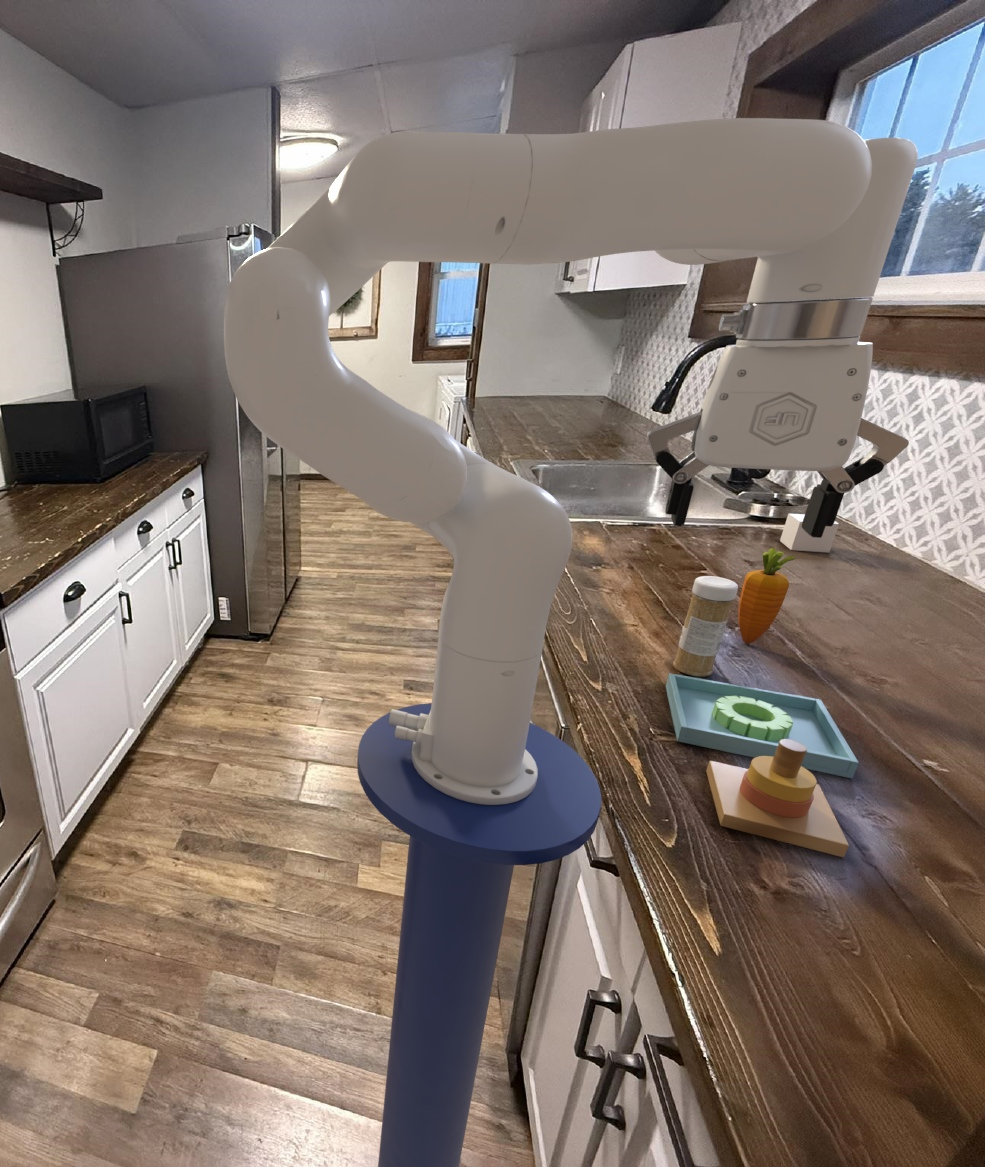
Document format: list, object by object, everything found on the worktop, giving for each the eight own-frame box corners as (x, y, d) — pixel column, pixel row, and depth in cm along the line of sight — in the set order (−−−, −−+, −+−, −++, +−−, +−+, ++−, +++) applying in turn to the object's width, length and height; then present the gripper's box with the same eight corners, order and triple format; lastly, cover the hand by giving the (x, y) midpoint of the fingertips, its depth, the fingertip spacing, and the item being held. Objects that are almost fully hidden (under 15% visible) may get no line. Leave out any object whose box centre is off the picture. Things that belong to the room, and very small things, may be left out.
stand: (720, 826, 61) (742, 759, 58) (705, 771, 68) (725, 709, 65) (844, 858, 57) (875, 788, 54) (814, 796, 64) (841, 731, 61)
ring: (717, 731, 73) (721, 720, 73) (708, 701, 79) (711, 690, 78) (795, 747, 70) (800, 735, 70) (780, 714, 76) (784, 703, 75)
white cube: (790, 550, 126) (799, 521, 124) (779, 541, 131) (788, 513, 129) (829, 552, 124) (839, 523, 122) (816, 543, 129) (825, 515, 127)
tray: (677, 741, 73) (681, 726, 72) (665, 686, 84) (669, 673, 83) (852, 778, 66) (859, 762, 65) (815, 713, 77) (821, 699, 76)
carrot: (733, 633, 96) (761, 540, 90) (774, 644, 92) (806, 549, 87) (720, 642, 94) (748, 548, 88) (761, 655, 90) (793, 557, 84)
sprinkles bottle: (681, 658, 90) (704, 572, 85) (718, 671, 86) (745, 582, 81) (665, 668, 88) (688, 580, 83) (703, 682, 84) (729, 590, 79)
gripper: (674, 332, 52) (631, 529, 58) (976, 321, 44) (887, 551, 50) (665, 329, 58) (627, 508, 64) (929, 319, 50) (854, 525, 56)
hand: (741, 527), depth 57 cm, fingers open, 9 cm apart
